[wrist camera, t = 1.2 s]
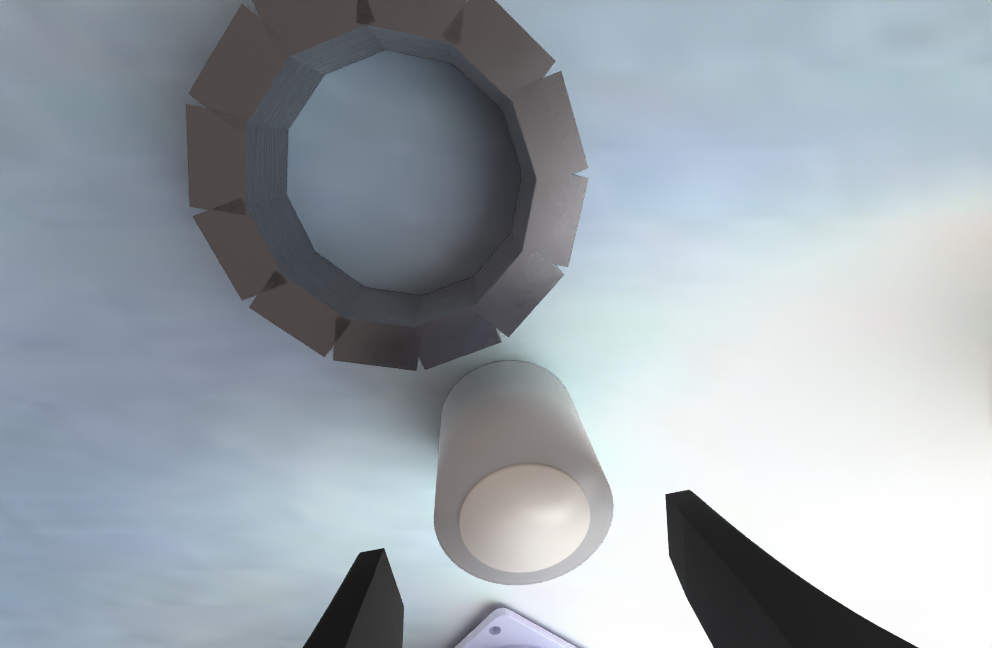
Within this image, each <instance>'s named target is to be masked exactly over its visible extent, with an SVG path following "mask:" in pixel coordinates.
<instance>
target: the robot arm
mask: <svg viewBox="0 0 992 648" xmlns="http://www.w3.org/2000/svg"><path fill="white" fill-rule="evenodd" d="M665 495H666V511H667V528H668V544H669V556H670V559H671V561H672V564H673V566H674V569H675V571H676V573H677V576H678V578H679V581H680V583H681V585H682V588H683V590H684V592H685V595H686V597H687V599H688V601H689V603H690V605H691V606H692V608H693V610H694V612H695V614H696V616H697V618H698V619H699V621H700V623H701V625H702V627H703V629H704V630H705V632H706V634H707V636H708V638H709V640H710V641H711V643H712V645H713V647H714V648H918V647H916V646H914V645H912V644H910V643H909V642H907V641H905V640H903V639H901V638H899V637H898V636H896V635H894V634H892V633H890V632H888V631H886V630H885V629H883V628H881V627H879V626H877V625H875V624H874V623H872V622H870V621H869V620H867V619H865V618H863V617H862V616H860V615H858V614H857V613H855V612H853V611H852V610H850V609H848V608H847V607H845V606H844V605H842V604H840V603H839V602H837V601H836V600H834V599H832V598H831V597H829V596H828V595H826V594H825V593H823V592H822V591H820V590H819V589H817V588H816V587H814V586H813V585H811V584H810V583H808V582H807V581H805V580H804V579H802V578H801V577H800V576H798V575H797V574H795V573H794V572H792V571H791V570H790V569H788V568H787V567H785V566H784V565H783V564H781V563H780V562H779V561H777V560H776V559H774V558H773V557H772V556H770V555H769V554H768V553H767V552H765V551H764V550H763V549H761V548H760V547H759V546H757V545H756V544H755V543H754V542H752V541H751V540H750V539H748V538H747V537H746V536H745V535H743V534H742V533H741V532H740V531H738V530H737V529H736V528H735V527H733V526H732V525H731V524H730V523H729V522H727V521H726V520H725V519H724V518H723V517H721V516H720V515H719V514H718V513H717V512H715V511H714V510H713V509H712V508H711V507H710V506H708V505H707V504H706V503H705V502H704V501H703V500H701V499H700V498H699V497H698V496H697V495H696V494H694V493H693V492H692V491H690V490H686V491H680V492H675V493H670V494H665ZM403 617H404V605H403V602H402V599H401V596H400V593H399V591H398V588H397V585H396V582H395V579H394V576H393V573H392V570H391V567H390V564H389V561H388V558H387V555H386V552H385V549H384V548H382V549H377V550H371V551H366V552H361V553H360V554H359V555H358V556H357V558H356V560H355V562H354V563H353V565H352V567H351V568H350V570H349V572H348V574H347V575H346V577H345V579H344V581H343V582H342V584H341V586H340V588H339V589H338V591H337V593H336V594H335V596H334V598H333V600H332V601H331V603H330V605H329V606H328V608H327V610H326V611H325V613H324V614H323V616H322V618H321V619H320V621H319V623H318V624H317V626H316V627H315V629H314V631H313V632H312V634H311V636H310V637H309V639H308V640H307V642H306V643H305V645H304V646H303V648H402V642H403ZM454 648H577V647H575V646H574V645H572V644H570V643H568V642H566V641H565V640H563V639H561V638H559V637H557V636H556V635H554V634H552V633H550V632H548V631H547V630H545V629H543V628H541V627H540V626H538V625H536V624H534V623H532V622H531V621H529V620H527V619H525V618H523V617H522V616H520V615H518V614H516V613H515V612H513V611H511V610H509V609H507V608H498V609H496V610H494V611H493V612H492V613H491V614H490V615H489V616H487V617H486V618H485V619H484V620H483V621H482V622H481V623H480V624H479V625H478V626H477V627H476V628H475V629H474V630H473V631H471V632H470V633H469V634H468V635H467V636H466V637H465V638H464V639H463V640H462V641H461V642H460V643H459V644H458V645H457V646H456V647H454Z"/></svg>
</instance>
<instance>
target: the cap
mask: <svg viewBox="0 0 992 648" xmlns="http://www.w3.org/2000/svg"><path fill="white" fill-rule="evenodd" d="M612 516H613V497H612V493H611V489H610V486H609V484H608V482H607V479H606V477H605V475H604V473H603V470H602V468H601V466H600V464H599V461H598V459H597V457H596V454H595V452H594V450H593V448H592V445H591V443H590V441H589V438H588V436H587V434H586V432H585V429H584V427H583V425H582V423H581V420H580V418H579V416H578V413H577V411H576V409H575V407H574V404H573V402H572V400H571V397H570V395H569V393H568V391H567V389H566V388H565V386H564V385H563V384H562V383H561V381H560V380H559V379H558V378H557V377H556V376H554V375H553V374H552V373H550V372H549V371H547V370H546V369H544V368H542V367H540V366H538V365H535V364H532V363H528V362H523V361H513V360H509V361H499V362H493V363H490V364H486V365H483V366H481V367H479V368H476V369H475V370H473V371H471V372H469V373H468V374H467V375H465V376H464V377H463V378H461V379H460V380H459V381H458V382H457V383H456V384H455V386H454V387H453V388H452V389H451V391H450V392H449V394H448V396H447V398H446V400H445V402H444V405H443V408H442V413H441V423H440V438H439V452H438V466H437V481H436V495H435V509H434V527H435V532H436V536H437V539H438V541H439V543H440V545H441V547H442V549H443V550H444V552H445V553H446V555H447V556H448V557H449V558H450V559H451V560H452V561H453V562H454V563H455V564H456V565H457V566H458V567H460V568H461V569H463V570H464V571H466V572H467V573H469V574H471V575H473V576H475V577H477V578H480V579H483V580H485V581H489V582H493V583H497V584H505V585H527V584H535V583H540V582H544V581H548V580H551V579H554V578H557V577H559V576H562V575H564V574H566V573H568V572H570V571H572V570H573V569H575V568H576V567H578V566H579V565H581V564H582V563H583V562H584V561H586V560H587V559H588V558H589V557H590V556H591V555H592V554H593V553H594V552H595V551H596V550H597V549H598V547H599V546H600V545H601V543H602V542H603V540H604V538H605V536H606V535H607V532H608V530H609V527H610V525H611V521H612Z"/></svg>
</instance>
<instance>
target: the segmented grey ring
mask: <svg viewBox="0 0 992 648" xmlns="http://www.w3.org/2000/svg"><path fill="white" fill-rule="evenodd" d="M253 3H254V5H255V7H256V9H257V11H258V13H259V14H257V13H256V12H254V11H253V10H251V9H250V8H248V7H247V6H245V5H244V4H242V5H241V6H240V8H239V10H238V11H237V13H236V15H235V16H234V18H233V20H232V21H231V23H230V25H229V26H228V28H227V30H226V32H225V33H224V35H223V37H222V38H221V40H220V42H219V43H218V45H217V47H216V48H215V50H214V52H213V53H212V55H211V57H210V58H209V60H208V62H207V64H206V65H205V67H204V69H203V70H202V72H201V74H200V75H199V77H198V79H197V80H196V82H195V84H194V85H193V87H192V89H191V90H190V92H189V94H190V95H191V96H192V97H194V98H195V99H196V100H198V101H199V102H200V103H202V104H203V105H204V106H206V107H201V106H195V105H188V104H186V115H187V143H188V171H189V199H190V207H196V208H203V209H209V210H208V211H206V212H203V213H200V214H198V215H195V216H193V218H194V219H195V221H196V223H197V225H198V226H199V228H200V230H201V231H202V233H203V235H204V236H205V238H206V240H207V241H208V243H209V245H210V247H211V248H212V250H213V252H214V253H215V255H216V257H217V258H218V260H219V262H220V264H221V265H222V267H223V269H224V270H225V272H226V274H227V275H228V277H229V279H230V281H231V282H232V284H233V286H234V287H235V289H236V291H237V292H238V294H239V296H240V298H241V299H242V300H244V299H247V298H250V297H252V296H255V295H257V297H256V298H255V300H254V301H253V302H252V304H251V305H250V307H249V308H251V309H252V310H254V311H255V312H257V313H258V314H260V315H261V316H263V317H264V318H266V319H267V320H269V321H270V322H272V323H273V324H275V325H276V326H278V327H279V328H281V329H283V330H284V331H286V332H287V333H289V334H290V335H292V336H293V337H295V338H296V339H298V340H299V341H301V342H302V343H304V344H305V345H307V346H308V347H310V348H311V349H313V350H314V351H316V352H318V353H319V354H321V355H322V356H324V357H325V356H326V354H327V353H328V352H329V351H330V349H331V348H332V347H333V345H334V353H333V360H335V361H343V362H351V363H359V364H367V365H375V366H383V367H390V368H398V369H406V370H414V371H417V365H418V360H419V358H420V360H421V362H422V364H423V367H424V369H425V370H426V369H429V368H431V367H434V366H437V365H440V364H442V363H445V362H448V361H451V360H453V359H456V358H459V357H462V356H464V355H467V354H470V353H473V352H475V351H478V350H481V349H484V348H486V347H489V346H492V345H495V344H497V343H500V342H501V338H500V333H499V330H500V331H501V332H502V333H504V334H505V335H506V336H507V337H509V336H510V335H511V334H512V333H513V332H514V331H515V329H516V328H517V327H518V326H519V325H520V324H521V323H522V322H523V320H524V319H525V318H526V317H527V316H528V315H529V314H530V313H531V311H532V310H533V309H534V308H535V307H536V306H537V305H538V303H539V302H540V301H541V300H542V299H543V298H544V297H545V296H546V294H547V293H548V292H549V291H550V290H551V289H552V288H553V287H554V285H555V284H556V283H557V282H558V281H559V280H560V279H561V278H562V276H563V275H564V274H563V273H562V272H561V271H560V269H559V268H558V267H557V266H556V265H560V266H566V267H568V265H569V261H570V256H571V252H572V248H573V243H574V239H575V235H576V230H577V226H578V222H579V217H580V213H581V209H582V204H583V200H584V196H585V191H586V187H587V182H588V178H586V177H582V176H578V175H574V173H577V172H580V171H582V170H585V169H587V168H588V165H587V162H586V158H585V155H584V151H583V148H582V144H581V140H580V137H579V133H578V130H577V126H576V122H575V119H574V115H573V112H572V108H571V105H570V101H569V97H568V94H567V90H566V87H565V83H564V79H563V76H562V72H561V71H560V72H557V73H555V74H552V75H550V76H547V77H544V75H545V74H546V73H547V72H548V70H549V69H550V68H551V67H552V65H553V64H554V63H555V60H554V59H553V58H552V57H551V56H550V55H549V54H548V53H547V52H546V51H545V50H544V49H543V48H542V47H541V46H540V45H539V44H538V43H537V42H536V41H535V40H534V39H533V38H532V37H531V36H530V35H529V34H528V33H527V32H526V31H525V30H524V29H523V28H522V27H521V26H520V25H519V24H518V23H517V22H516V21H515V20H514V19H513V18H512V17H511V16H510V15H509V14H508V13H507V12H506V11H505V10H504V9H503V8H502V7H501V6H500V5H499V4H498V3H497V2H496V1H495V0H253ZM384 50H389V51H394V52H399V53H404V54H409V55H413V56H418V57H423V58H428V59H433V60H438V61H442V62H447V63H452V64H453V65H454V66H455V67H456V68H457V69H459V70H460V71H461V72H462V73H463V74H464V75H465V76H466V77H467V78H468V79H469V80H470V81H471V82H473V83H474V84H475V85H476V86H477V87H478V88H479V89H480V90H481V91H482V92H483V93H484V94H486V95H487V96H488V97H489V98H490V99H491V100H492V101H493V102H494V103H495V104H496V105H497V106H498V107H500V108H501V109H502V111H503V114H504V117H505V120H506V123H507V126H508V129H509V133H510V136H511V139H512V142H513V145H514V148H515V151H516V154H517V157H518V160H519V163H520V166H521V169H522V177H521V183H520V188H519V194H518V199H517V204H516V210H515V215H514V221H513V226H512V231H511V233H510V234H509V235H508V237H507V238H506V239H505V240H504V241H503V243H502V244H501V245H500V246H499V247H498V249H497V250H496V251H495V252H494V253H493V255H492V256H491V257H490V258H489V259H488V261H487V262H486V263H485V264H484V265H483V267H482V268H481V269H480V270H479V271H478V273H477V274H476V275H475V276H474V277H471V278H468V279H465V280H463V281H460V282H457V283H455V284H452V285H449V286H447V287H444V288H441V289H439V290H436V291H433V292H431V293H428V294H425V295H423V296H420V295H414V294H407V293H400V292H393V291H386V290H379V289H373V288H366V287H364V286H362V285H361V284H359V283H358V282H357V281H355V280H354V279H353V278H351V277H350V276H348V275H347V274H346V273H344V272H343V271H341V270H340V269H339V268H337V267H336V266H335V265H333V264H332V263H330V262H329V261H328V260H326V259H325V258H323V257H322V256H321V255H319V254H318V253H317V252H315V250H314V248H313V246H312V244H311V242H310V240H309V238H308V236H307V234H306V232H305V230H304V228H303V226H302V224H301V222H300V220H299V219H298V217H297V215H296V213H295V211H294V209H293V207H292V205H291V203H290V201H289V199H288V197H287V195H286V190H287V156H288V129H289V127H290V126H291V124H292V123H293V121H294V120H295V118H296V117H297V115H298V114H299V112H300V111H301V109H302V108H303V106H304V105H305V103H306V102H307V100H308V99H309V97H310V96H311V94H312V93H313V91H314V90H315V88H316V87H317V85H318V84H319V82H320V81H321V79H322V78H323V76H324V75H325V74H327V73H330V72H332V71H335V70H337V69H340V68H342V67H345V66H347V65H349V64H352V63H354V62H357V61H359V60H362V59H364V58H367V57H369V56H372V55H374V54H376V53H379V52H381V51H384ZM543 77H544V78H543Z"/></svg>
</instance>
